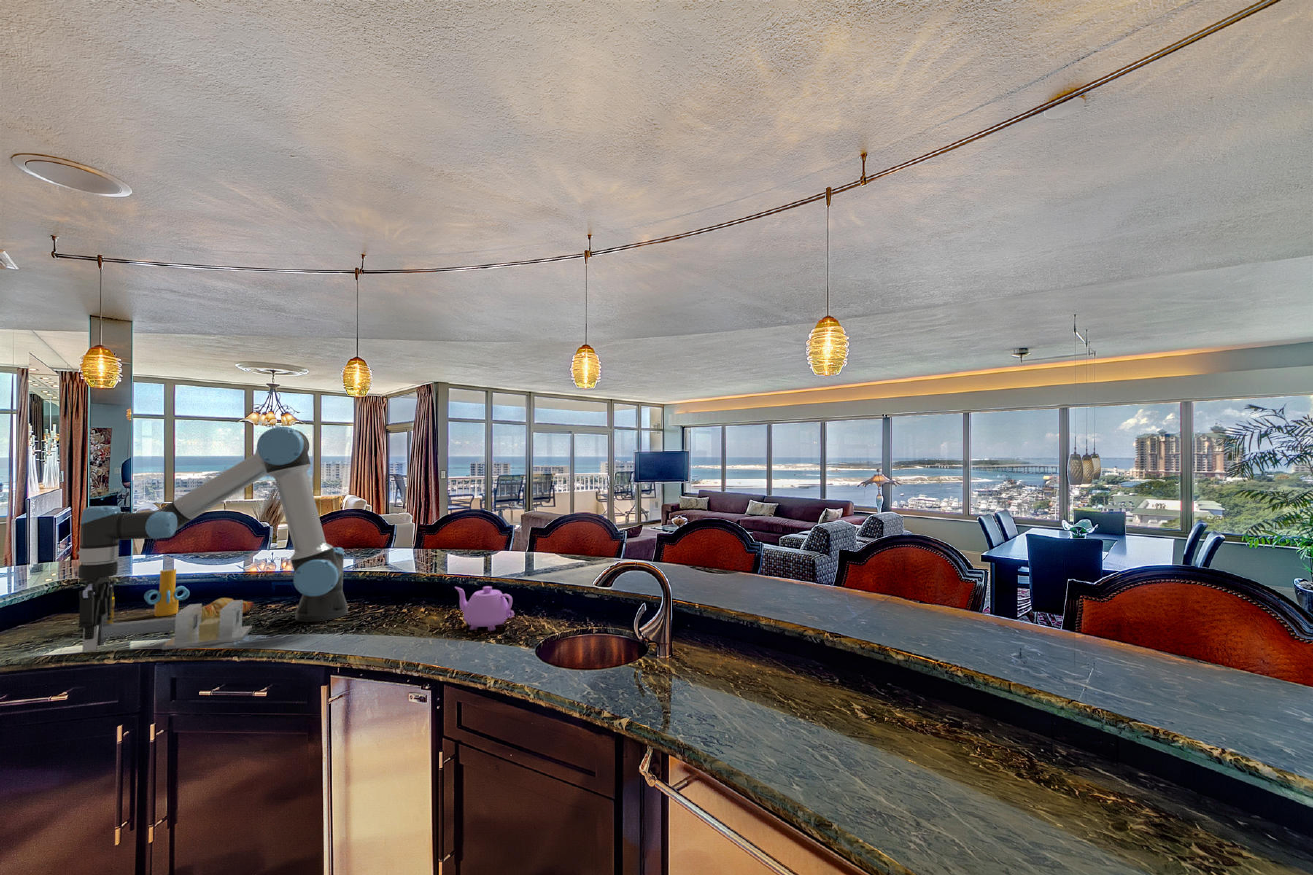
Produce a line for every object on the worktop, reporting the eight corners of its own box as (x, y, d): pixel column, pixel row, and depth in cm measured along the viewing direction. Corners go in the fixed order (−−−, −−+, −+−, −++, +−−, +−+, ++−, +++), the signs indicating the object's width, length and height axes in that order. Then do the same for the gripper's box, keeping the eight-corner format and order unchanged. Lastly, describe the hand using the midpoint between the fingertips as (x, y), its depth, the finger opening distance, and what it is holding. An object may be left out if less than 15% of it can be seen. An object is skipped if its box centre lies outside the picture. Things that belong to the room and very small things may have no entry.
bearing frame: (251, 628, 166) (253, 598, 166) (242, 640, 155) (243, 608, 156) (177, 636, 158) (179, 605, 158) (161, 649, 147) (163, 615, 148)
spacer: (205, 632, 159) (222, 631, 161) (198, 638, 153) (216, 636, 155) (205, 619, 159) (222, 617, 161) (199, 624, 154) (216, 623, 155)
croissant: (186, 640, 166) (194, 618, 165) (168, 621, 169) (176, 600, 168) (257, 619, 186) (264, 600, 184) (240, 603, 189) (247, 584, 188)
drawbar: (195, 632, 156) (196, 604, 157) (191, 635, 154) (193, 607, 154) (90, 643, 146) (91, 614, 147) (84, 647, 143) (85, 617, 144)
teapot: (443, 631, 164) (444, 591, 165) (464, 618, 178) (465, 580, 179) (505, 634, 162) (505, 593, 163) (521, 620, 176) (522, 582, 177)
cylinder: (158, 620, 174) (160, 574, 175) (133, 618, 176) (136, 573, 177) (197, 610, 186) (199, 567, 187) (173, 608, 188) (175, 566, 189)
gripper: (95, 558, 152) (91, 640, 151) (62, 568, 137) (57, 660, 136) (130, 556, 156) (126, 636, 155) (102, 566, 141) (97, 655, 140)
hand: (94, 647), depth 145 cm, fingers open, 4 cm apart
